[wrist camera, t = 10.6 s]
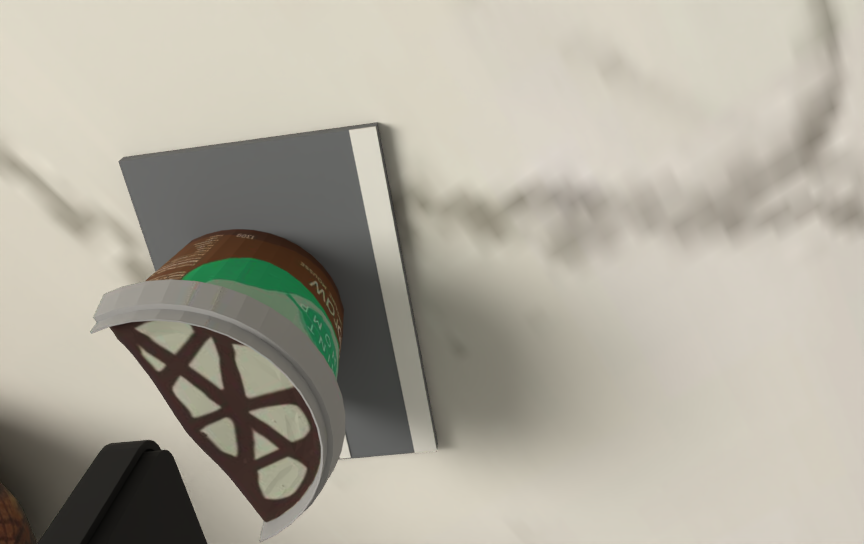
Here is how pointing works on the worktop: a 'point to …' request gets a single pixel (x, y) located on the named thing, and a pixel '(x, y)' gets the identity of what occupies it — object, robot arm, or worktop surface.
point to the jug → (13, 521)
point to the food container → (244, 361)
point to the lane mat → (321, 237)
